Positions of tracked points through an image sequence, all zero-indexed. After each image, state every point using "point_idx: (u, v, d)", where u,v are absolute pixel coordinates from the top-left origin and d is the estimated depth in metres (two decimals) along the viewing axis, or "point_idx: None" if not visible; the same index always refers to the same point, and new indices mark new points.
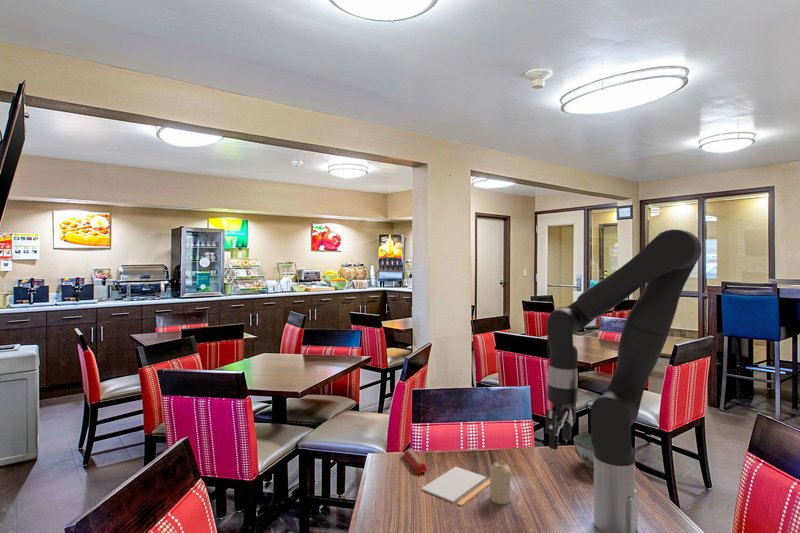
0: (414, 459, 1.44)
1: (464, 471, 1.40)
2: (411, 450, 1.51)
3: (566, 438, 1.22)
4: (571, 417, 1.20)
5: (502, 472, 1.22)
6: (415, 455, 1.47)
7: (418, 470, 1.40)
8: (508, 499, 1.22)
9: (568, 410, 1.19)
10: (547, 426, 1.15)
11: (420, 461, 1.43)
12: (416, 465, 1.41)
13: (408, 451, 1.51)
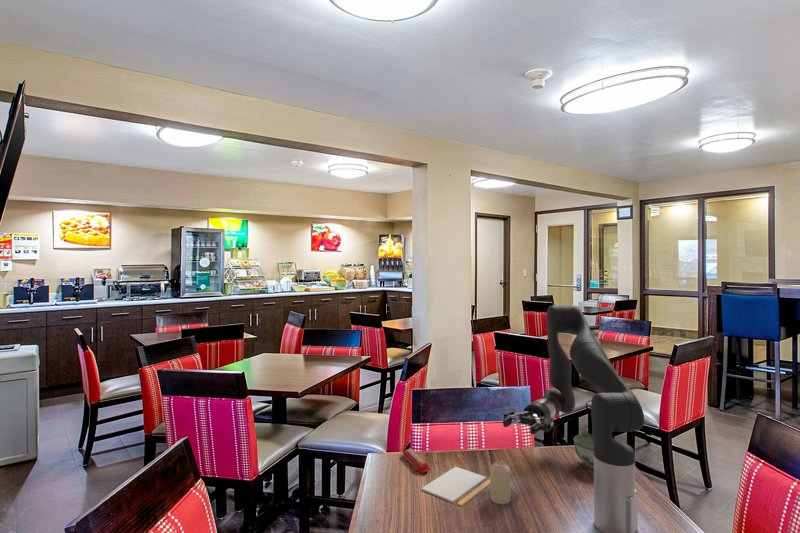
0: (416, 459, 1.44)
1: (464, 471, 1.40)
2: (410, 450, 1.51)
3: None
4: (536, 417, 1.36)
5: (502, 472, 1.22)
6: (416, 455, 1.47)
7: (421, 470, 1.40)
8: (508, 499, 1.22)
9: None
10: None
11: (422, 461, 1.43)
12: (419, 465, 1.41)
13: (408, 451, 1.51)
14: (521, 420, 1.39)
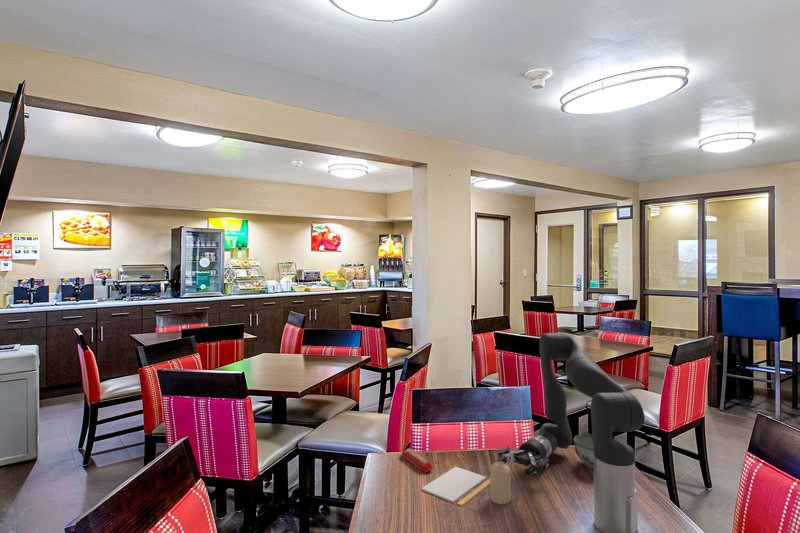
0: (418, 459, 1.45)
1: (464, 471, 1.40)
2: (410, 450, 1.51)
3: None
4: (531, 457, 1.33)
5: (502, 472, 1.22)
6: (416, 455, 1.47)
7: (425, 469, 1.40)
8: (508, 499, 1.22)
9: None
10: None
11: (424, 460, 1.43)
12: (422, 464, 1.41)
13: (407, 451, 1.51)
14: (516, 459, 1.36)
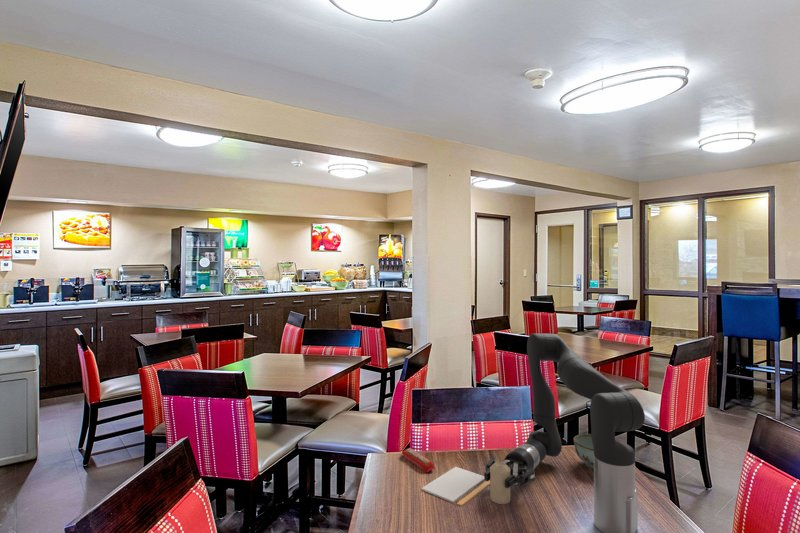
0: (419, 459, 1.45)
1: (464, 471, 1.40)
2: (411, 450, 1.51)
3: None
4: (515, 468, 1.27)
5: (502, 472, 1.22)
6: (417, 454, 1.48)
7: (427, 469, 1.41)
8: (508, 499, 1.22)
9: None
10: None
11: (426, 460, 1.44)
12: (423, 464, 1.42)
13: (408, 451, 1.51)
14: None
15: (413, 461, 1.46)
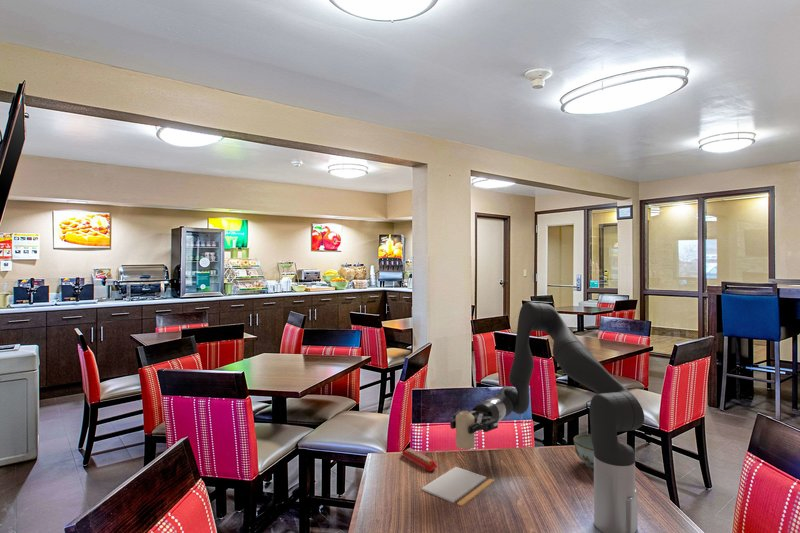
0: (421, 458, 1.45)
1: (464, 471, 1.40)
2: (411, 450, 1.51)
3: None
4: (479, 417, 1.34)
5: (466, 419, 1.30)
6: (419, 454, 1.48)
7: (429, 468, 1.41)
8: (472, 445, 1.30)
9: None
10: None
11: (428, 459, 1.44)
12: (426, 463, 1.42)
13: (408, 451, 1.51)
14: None
15: (415, 461, 1.46)
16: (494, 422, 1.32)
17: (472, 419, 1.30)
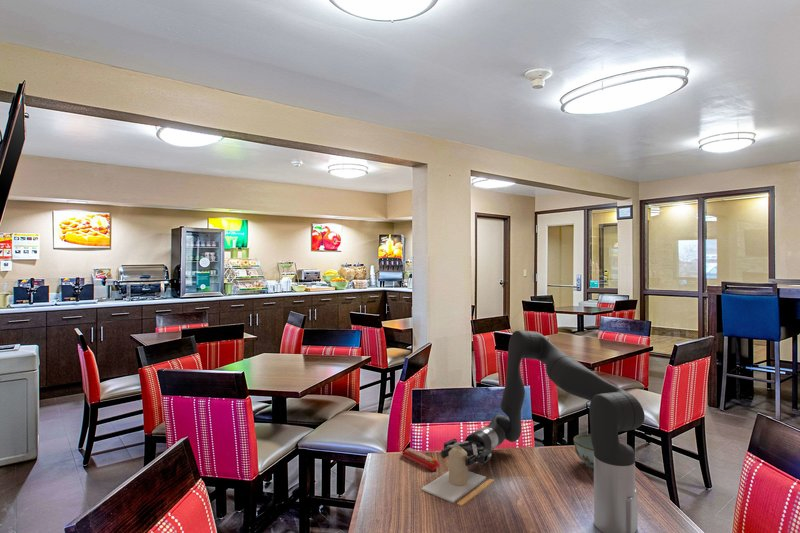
0: (423, 457, 1.46)
1: None
2: (411, 449, 1.52)
3: None
4: (474, 448, 1.35)
5: (459, 456, 1.31)
6: (420, 453, 1.48)
7: (432, 467, 1.42)
8: (464, 481, 1.32)
9: None
10: None
11: (430, 458, 1.45)
12: (428, 462, 1.43)
13: (409, 451, 1.51)
14: None
15: (416, 460, 1.47)
16: (489, 453, 1.34)
17: (465, 455, 1.32)
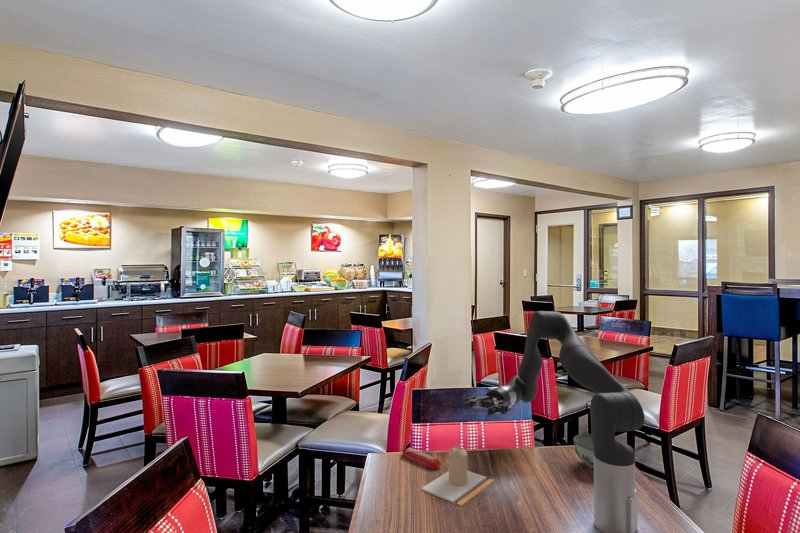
0: (424, 457, 1.46)
1: None
2: (412, 449, 1.52)
3: None
4: (495, 400, 1.45)
5: (459, 456, 1.31)
6: (421, 453, 1.49)
7: (434, 466, 1.42)
8: (464, 481, 1.32)
9: None
10: None
11: (432, 457, 1.45)
12: (430, 462, 1.43)
13: (409, 451, 1.51)
14: (482, 404, 1.48)
15: (418, 460, 1.47)
16: (509, 404, 1.44)
17: (465, 455, 1.32)
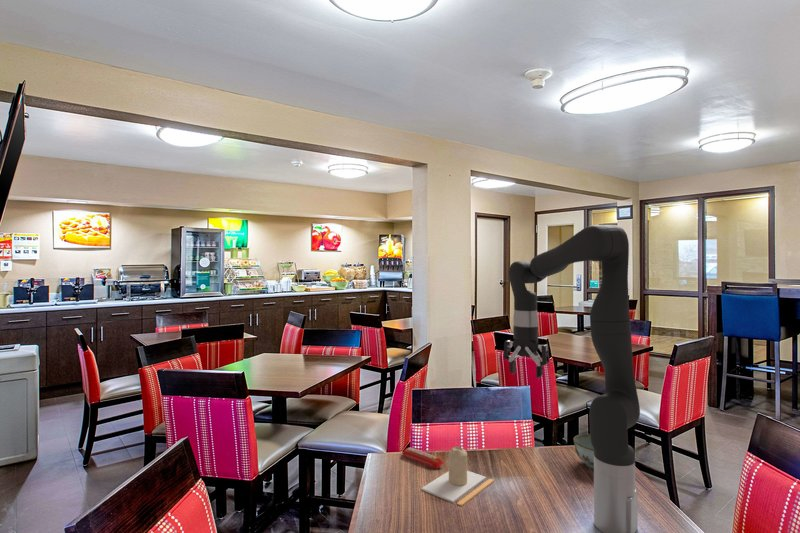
0: (426, 456, 1.47)
1: None
2: (412, 449, 1.52)
3: None
4: (531, 355, 1.38)
5: (459, 456, 1.31)
6: (422, 452, 1.49)
7: (436, 465, 1.43)
8: (464, 481, 1.32)
9: None
10: None
11: (433, 456, 1.46)
12: (432, 461, 1.44)
13: (410, 450, 1.51)
14: None
15: (419, 459, 1.47)
16: (546, 351, 1.37)
17: (465, 455, 1.32)
